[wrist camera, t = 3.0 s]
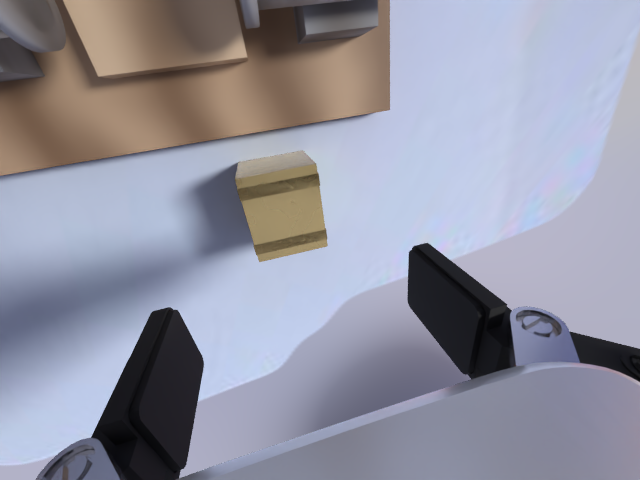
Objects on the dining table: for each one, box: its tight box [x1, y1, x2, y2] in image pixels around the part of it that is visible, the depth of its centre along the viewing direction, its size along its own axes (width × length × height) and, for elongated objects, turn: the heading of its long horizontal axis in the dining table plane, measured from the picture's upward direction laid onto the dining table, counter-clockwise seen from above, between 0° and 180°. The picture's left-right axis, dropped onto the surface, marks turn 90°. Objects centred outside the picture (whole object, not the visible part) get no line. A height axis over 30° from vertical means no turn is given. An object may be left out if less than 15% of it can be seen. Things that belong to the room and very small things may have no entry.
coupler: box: [235, 151, 327, 262], centre depth 20 cm, size 6×5×5 cm
